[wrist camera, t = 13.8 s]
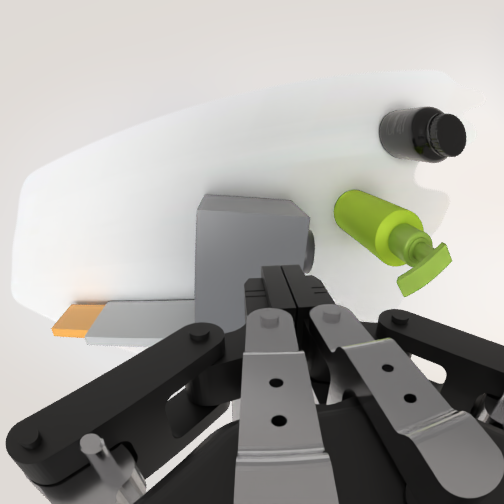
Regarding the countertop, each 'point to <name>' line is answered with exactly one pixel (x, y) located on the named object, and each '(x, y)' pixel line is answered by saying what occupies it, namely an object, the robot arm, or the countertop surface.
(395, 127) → the supplement bottle
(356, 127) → the countertop surface
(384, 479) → the robot arm
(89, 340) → the side door
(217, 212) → the camera housing
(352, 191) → the soap dispenser
